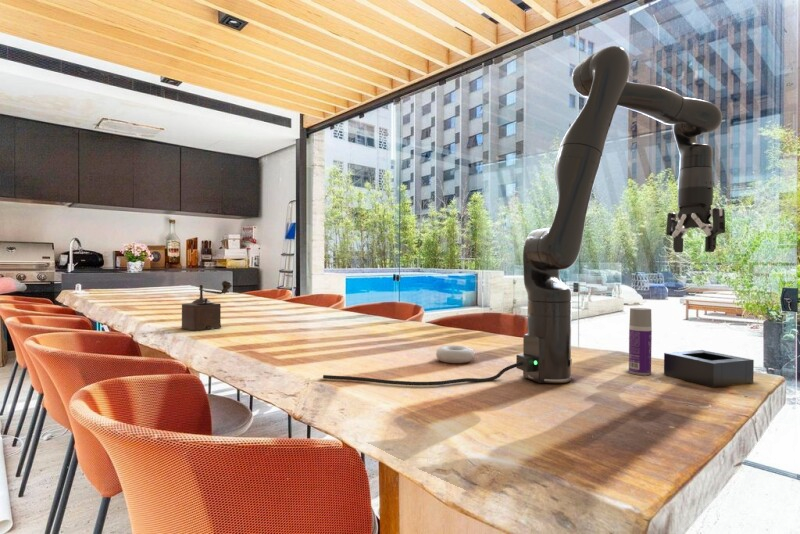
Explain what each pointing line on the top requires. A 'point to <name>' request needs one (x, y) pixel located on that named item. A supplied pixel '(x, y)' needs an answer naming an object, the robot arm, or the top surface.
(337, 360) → the top surface
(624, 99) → the robot arm
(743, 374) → the stand
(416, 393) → the top surface
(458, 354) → the donut
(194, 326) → the coffee grinder
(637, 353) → the container
